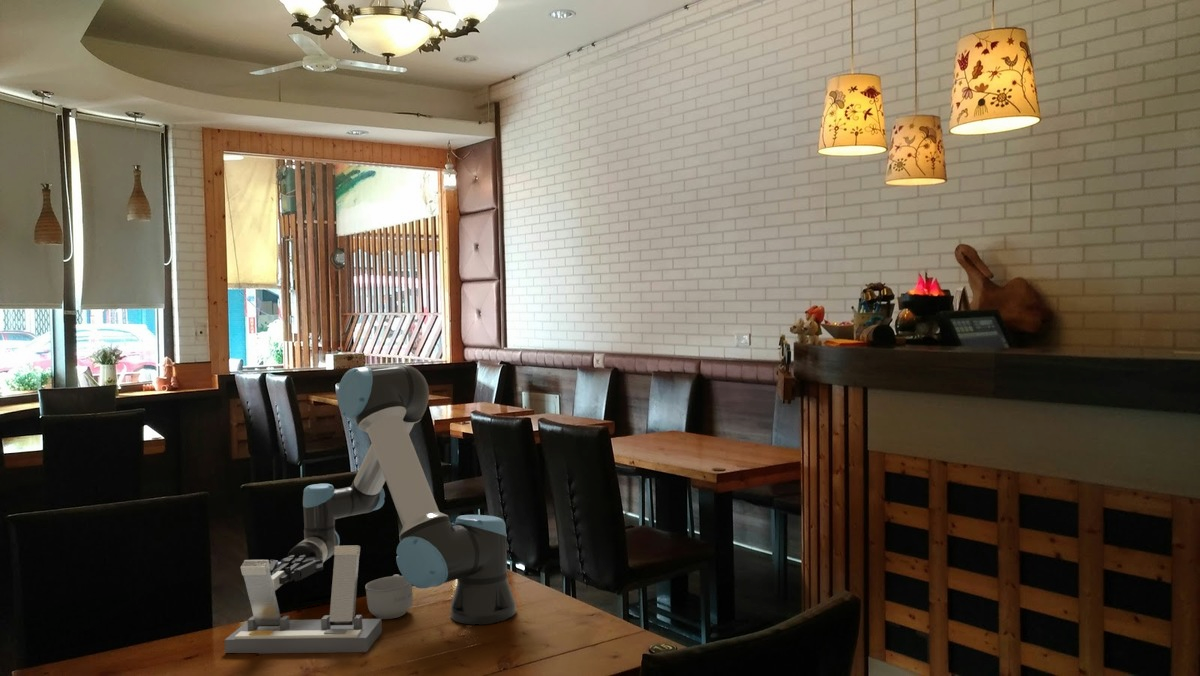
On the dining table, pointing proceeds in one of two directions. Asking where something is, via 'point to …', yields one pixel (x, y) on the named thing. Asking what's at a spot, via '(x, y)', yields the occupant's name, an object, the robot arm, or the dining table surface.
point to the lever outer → (261, 592)
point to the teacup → (389, 596)
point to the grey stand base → (304, 636)
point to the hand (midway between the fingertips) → (270, 585)
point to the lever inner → (344, 585)
